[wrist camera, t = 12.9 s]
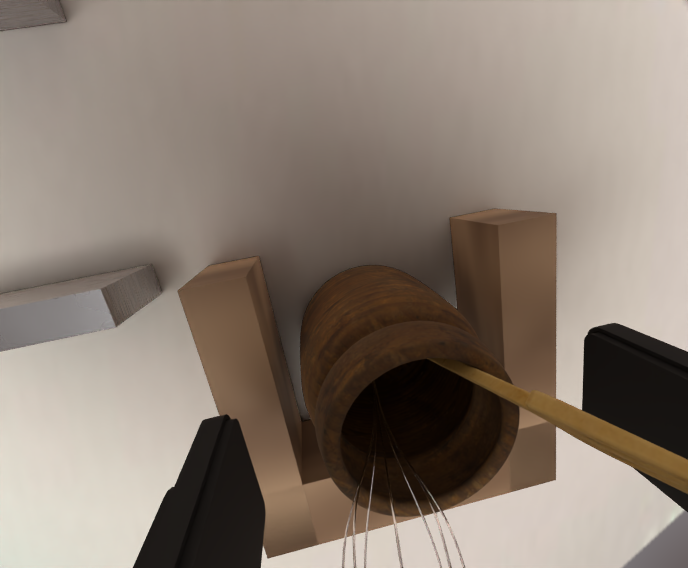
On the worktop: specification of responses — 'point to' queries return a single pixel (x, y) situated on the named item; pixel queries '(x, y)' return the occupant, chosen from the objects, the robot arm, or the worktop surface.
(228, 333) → the frame
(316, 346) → the utensil holder
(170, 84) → the worktop surface
